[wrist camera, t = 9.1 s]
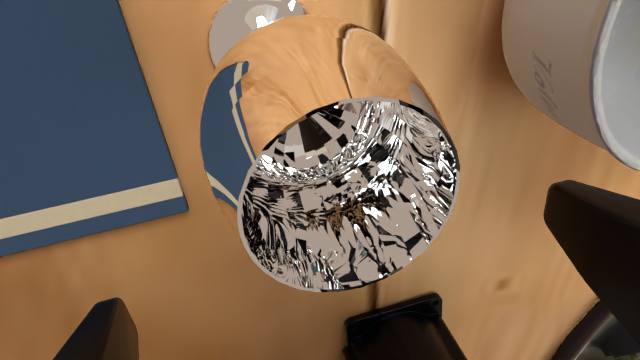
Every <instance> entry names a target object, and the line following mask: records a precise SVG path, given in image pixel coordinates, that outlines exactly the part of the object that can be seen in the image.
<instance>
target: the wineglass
mask: <svg viewBox="0 0 640 360" xmlns="http://www.w3.org/2000/svg"><path fill="white" fill-rule="evenodd" d="M209 52H210V56H211V60H212V62H213V64H214V66H215V68H216V69H215V71H214V73H213V74H212V76H211V78H210V80H209V82H208V85H207V88H206V92H205V95H204V98H203V103H202V107H201V111H200V119H199V142H200V151H201V156H202V162H203V166H204V169H205V172H206V175H207V178H208V182H209V184H210V187H211V190H212V192H213V194H214V196H215V199H216V201H217V203H218V205H219V207H220V209H221V211H222V213H223V215H224V216H225V218H226V220H227V221H228V223H229V225H230V226H231V228H232V230H233V231H234V233H235V235H236V236H237V238H238V240H239V241H240V243H241V245H242V246H243V248H244V249H245V251H246V252H247V253H248V255H249V256H250V258H251V259H252V260H253V261H254V262H255V264H256V265H257V266H258V267H259V268H260V269H261V270H262V271H263V272H264V273H266V274H268V275H269V276H271V277H272V278H274V279H275V280H277V281H279V282H280V283H283V284H286V285H288V286H291V287H294V288H297V289H301V290H307V291H314V292H340V291H345V290H350V289H356V288H361V287H364V286H366V285H369V284H372V283H375V282H377V281H380V280H383V279H385V278H387V277H389V276H390V275H392V274H394V273H396V272H397V271H399V270H401V269H403V268H404V267H406V266H407V265H408V264H409V263H411V262H412V261H413V260H414V259H416V258H417V257H418V256H419V255H421V254H422V253H423V252H424V251H425V250H426V249H427V248H428V246H429V245H430V244H431V243H432V242H433V241H434V240H435V238H436V237H437V236H438V235H439V234H440V232H441V230H442V229H443V227H444V225H445V224H446V222H447V220H448V219H449V217H450V215H451V213H452V211H453V208H454V206H455V203H456V199H457V196H458V191H459V185H460V164H459V159H458V154H457V150H456V148H455V146H454V143H453V141H452V139H451V136H450V134H449V132H448V130H447V127H446V125H445V123H444V121H443V118H442V116H441V114H440V112H439V110H438V108H437V106H436V105H435V103H434V101H433V99H432V97H431V96H430V94H429V92H428V91H427V89H426V88H425V86H424V85H423V83H422V82H421V80H420V79H419V77H418V76H417V75H416V73H415V72H414V71H413V69H412V68H411V67H410V66H409V64H408V63H407V62H406V61H405V60H404V59H403V58H402V57H401V56H400V55H399V54H398V53H397V52H396V51H395V50H394V49H393V48H392V47H391V46H390V45H389V44H387V43H386V42H385V41H383V40H382V39H381V38H379V37H378V36H377V35H375V34H374V33H372V32H371V31H369V30H367V29H365V28H364V27H362V26H359V25H357V24H355V23H352V22H349V21H345V20H342V19H338V18H335V17H330V16H322V15H314V14H309V13H308V12H307V10H306V9H305V7H304V6H303V5H302V4H301V3H300V2H299V1H298V0H226V1H225V2H224V3H223V4H222V5H221V7H220V8H219V9H218V11H217V12H216V14H215V16H214V18H213V20H212V23H211V26H210V30H209Z"/></svg>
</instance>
